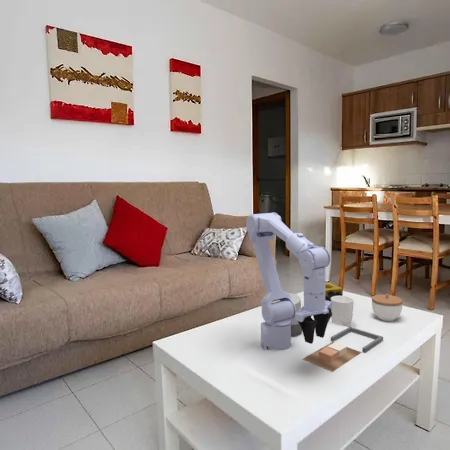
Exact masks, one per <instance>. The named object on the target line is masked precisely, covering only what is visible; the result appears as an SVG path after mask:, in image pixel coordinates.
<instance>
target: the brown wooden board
mask: <svg viewBox="0 0 450 450" xmlns="http://www.w3.org/2000/svg"><path fill="white" fill-rule="evenodd" d="M334 342H335V341H334ZM334 342H332V341H331V342H329V343H328V344H326V345H325V346H323V347H320V348H319V349H318V350H316V351H314V352H312V353H310V354H309V355H307V356H306V357H303V358H302V361H304V362H305V361H306V362H308V363H310V364H312V365H315V366H317V367H320V368H322V369H325V370H327V371H330V372H331V373H333V372H335V371H336V370H338V369H339V368H341V367H342V366H344V365H345V364H347V363H348V362H350V361H351V360H352V359H355V358H356V357H357V356H359V355H361V354H362V353H363V352H362V351H359V350H357V349H354V348H351V347H347V353H346V354H344V355H342V356H341V357H338V359H336V360H334V361H333V362H331V363H330V362H328V361H325V360H323V359H320V358H319V351H320V350H322V349H324V348H326V347H327V346H329V345H331V344H333V343H334Z"/></svg>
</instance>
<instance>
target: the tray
mask: <svg viewBox="0 0 450 450" xmlns="http://www.w3.org/2000/svg"><path fill="white" fill-rule="evenodd" d="M350 333H353V334H357V335H360V336H363V337H365V338H369V339H373V340H372V341H371V342H369V343H367V344H366V345H365V346H363V347H362V350H361V352H362V353H364V354H366V353H368V352H369V351H370V350H371V349H373V348H375V347H376V346H377V345H379V344H381V343H382V342H383V341H384V336H382V335H377V334H375V333H371V332H369V331H366V330H362V329H359V328H356V327H352V326H351V327H347V328H345V329H343V330H341V331H340V332H337V333H336V334H333V335H332V336H330V342H331V343H332V342H335V341H337V340H339V339H341V338H342V337H345V336H346V335H348V334H350Z"/></svg>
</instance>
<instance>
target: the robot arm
mask: <svg viewBox="0 0 450 450" xmlns="http://www.w3.org/2000/svg"><path fill="white" fill-rule="evenodd" d="M245 227H246V231H247V235H248V239H249V241H250V242H251V244H252V247H253V250H254V251H253V252H254V255H255V257H256V262H257V265H258V269H259V272H260V276H261V280H262V282H263V286H264V291H265V295H264V296H263V297H262V298H261V301H260V305H261V317H262V319H263V321H264V322H261V323H260V346H261V347H262V349H263V351H265V350H266V351H268V350H276V351H283V350H287V349H290V348H291V347H292V337H291V322H293V318H294V317H295V320H296V321H298V323H299V325H300V327H301V329H302V335H303V339H304V342H305V343H308V344H310V345H312V344H313V342H314V340H315V339H314V337H318V338H322V339H324V337H325V334H326V330H327V326H328V325H329V322H330V319H332V312H330V311H329V310H328V309H332V302H331V301H327V300H326V301H325V283H326V268H328V266H329V265H330V264H331V263H330V262H331V255H330V252H329V251H328V249H326V247H324V246H318V245H315V244H314V242H311V241H310V240H309V239H308V238H307V237H305V235H304V234H303V233H302V232H293V231H292V230H291V229H290V228H289V227H288V226H287V225H286V224H285V223H284V222H283V221H282V217H281V215H279V214H278V213H277V212H273V211H272V212H266V213H256V214H255V213H250V214H249V215H248V217H247V219H246V223H245ZM275 236H277V237H278V238H279V239H281V240H282V241H284V242H285V248H286V249H287V250H288V251H290V253H291V254H292V255H293V256H294V257H296V258H297V259H298V264H299V265H300V268H301V274H302V276H303V306H301V309H300V310H299V311H298V312H297V313H296V306H295V304H294V302H293V301H292V299H291V296H290V294H288V293H289V292H287V291H285V290H283V288H282V284H281V280H280V278H279V275H278V274H279V273H278V270H277V267H276V264H275V260H274V257H273V253H272V250H271V246H270V242H271V240H273V239H274V238H275ZM277 300H280V301H278V302H277Z"/></svg>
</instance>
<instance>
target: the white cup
mask: <svg viewBox="0 0 450 450" xmlns="http://www.w3.org/2000/svg"><path fill="white" fill-rule="evenodd" d="M331 302H332V309H331V312H332V316H331V322H332V323H333V324H336V325H339V326H344V327H347V328H348V327H352V325H353V323H352V321H353V315H354V313H353V311H354V298H352V297H350V296H347V295H343V296H333V297H331Z"/></svg>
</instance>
